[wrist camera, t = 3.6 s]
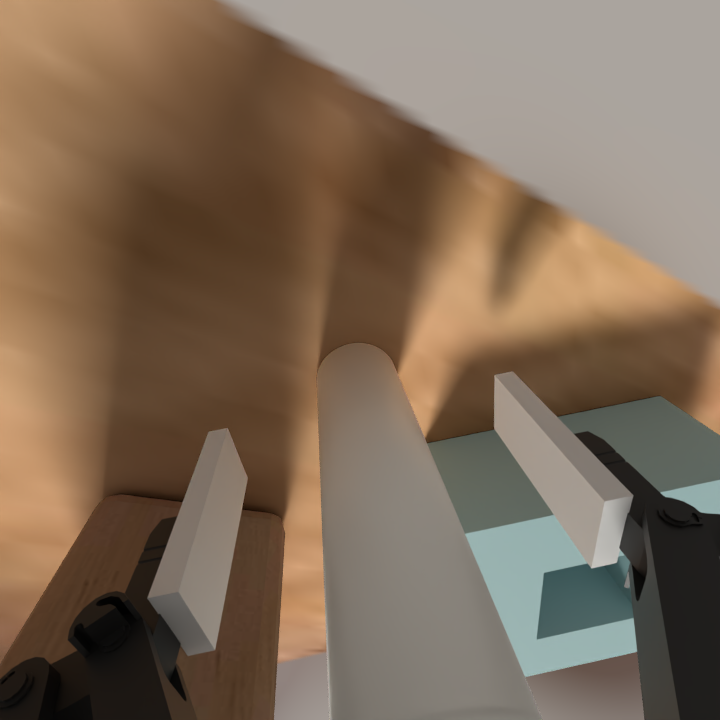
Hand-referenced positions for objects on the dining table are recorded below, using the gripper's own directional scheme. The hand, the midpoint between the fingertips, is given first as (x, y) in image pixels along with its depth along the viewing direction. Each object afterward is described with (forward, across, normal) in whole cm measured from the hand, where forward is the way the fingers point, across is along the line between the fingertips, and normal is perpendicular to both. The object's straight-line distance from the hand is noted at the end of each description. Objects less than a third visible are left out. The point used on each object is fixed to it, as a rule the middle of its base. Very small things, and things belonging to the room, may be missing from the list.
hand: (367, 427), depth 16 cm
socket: (+4, +10, -12) cm, 16 cm away
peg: (+4, 0, 0) cm, 4 cm away
